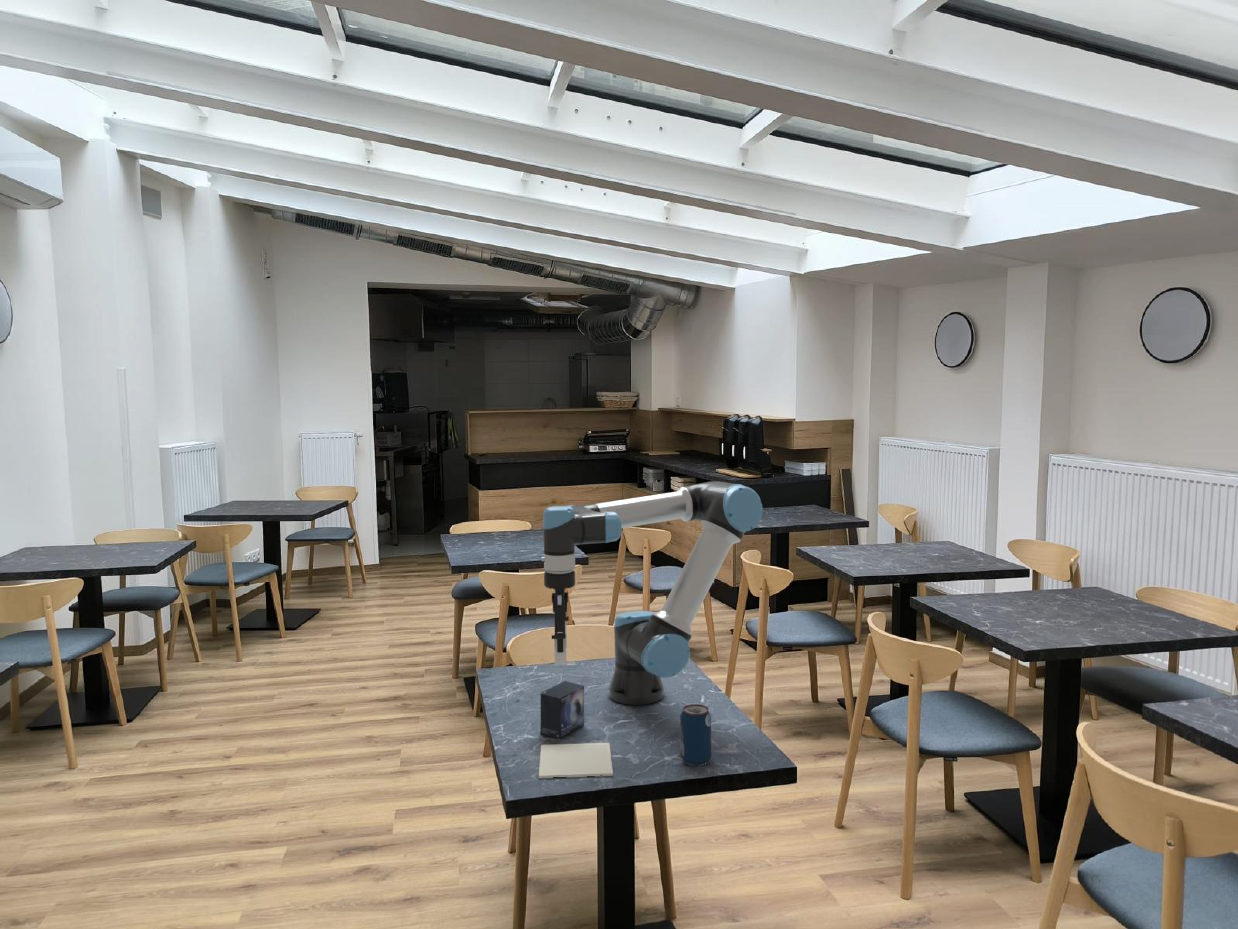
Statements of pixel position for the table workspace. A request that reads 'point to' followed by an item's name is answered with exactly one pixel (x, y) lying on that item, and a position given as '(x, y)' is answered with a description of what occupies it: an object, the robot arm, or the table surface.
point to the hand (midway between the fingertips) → (561, 656)
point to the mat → (575, 760)
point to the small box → (562, 709)
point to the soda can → (695, 734)
